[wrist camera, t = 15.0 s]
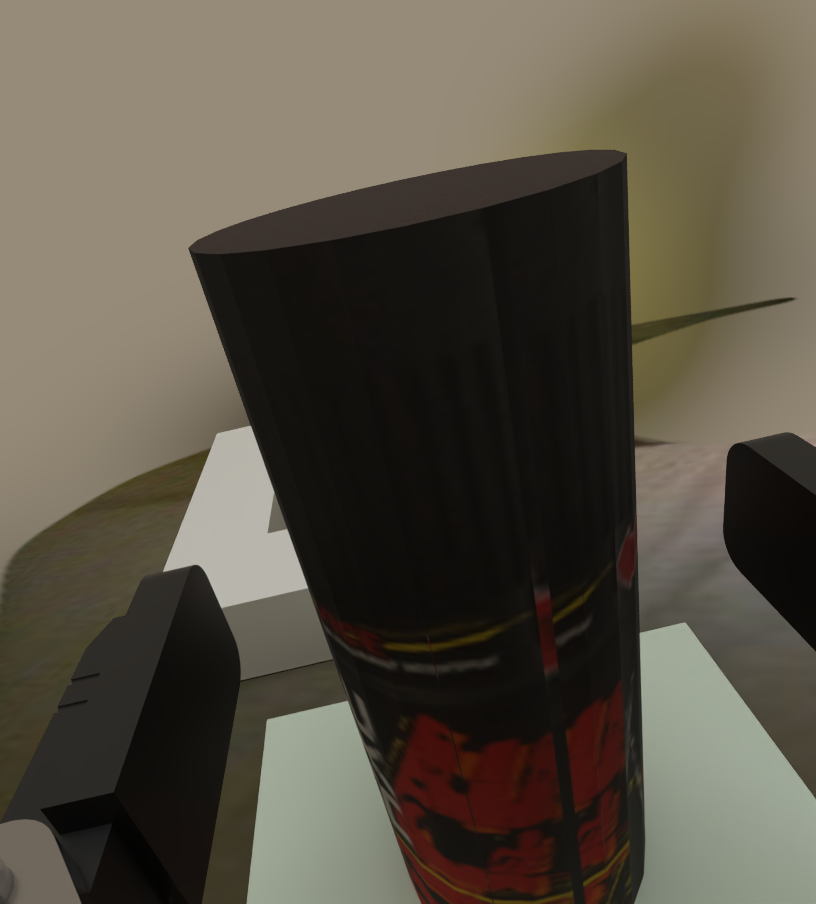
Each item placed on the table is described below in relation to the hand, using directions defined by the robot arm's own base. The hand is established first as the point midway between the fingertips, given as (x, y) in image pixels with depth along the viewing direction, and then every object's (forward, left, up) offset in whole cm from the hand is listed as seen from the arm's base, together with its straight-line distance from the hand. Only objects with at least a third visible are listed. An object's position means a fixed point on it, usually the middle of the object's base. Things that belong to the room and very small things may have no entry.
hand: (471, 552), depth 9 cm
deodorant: (0, -2, -10) cm, 10 cm away
